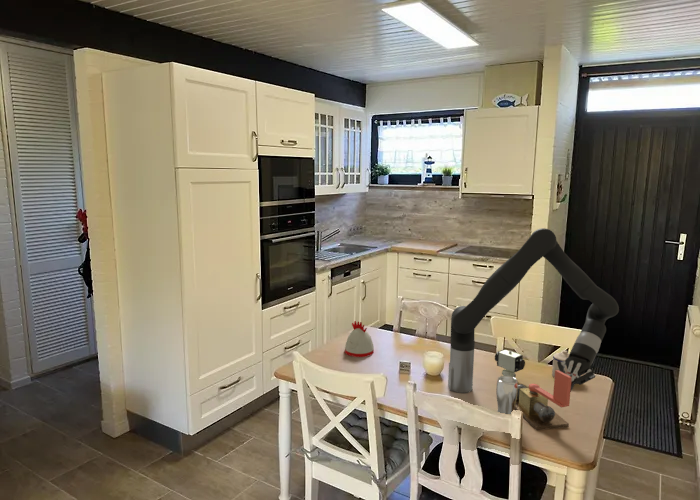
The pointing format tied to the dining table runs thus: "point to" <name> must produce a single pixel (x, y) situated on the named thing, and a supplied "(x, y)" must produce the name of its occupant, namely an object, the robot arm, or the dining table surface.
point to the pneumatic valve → (509, 362)
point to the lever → (556, 389)
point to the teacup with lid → (561, 358)
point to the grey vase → (506, 394)
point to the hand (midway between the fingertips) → (565, 391)
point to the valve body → (537, 410)
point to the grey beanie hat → (359, 342)
